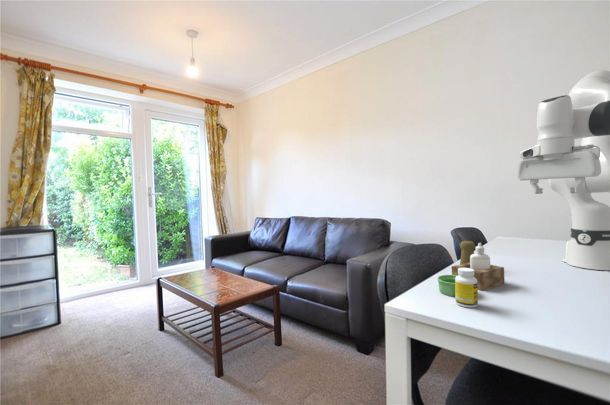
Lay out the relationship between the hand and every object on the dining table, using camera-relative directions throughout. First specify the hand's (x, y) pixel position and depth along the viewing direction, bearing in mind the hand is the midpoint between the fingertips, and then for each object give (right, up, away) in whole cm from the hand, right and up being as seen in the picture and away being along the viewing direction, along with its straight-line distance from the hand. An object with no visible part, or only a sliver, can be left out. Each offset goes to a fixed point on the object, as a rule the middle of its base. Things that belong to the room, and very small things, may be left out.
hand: (555, 193), depth 89 cm
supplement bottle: (-34, -31, -11) cm, 47 cm away
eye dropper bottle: (-20, -28, +6) cm, 35 cm away
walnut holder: (-21, -30, +6) cm, 37 cm away
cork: (-14, -29, +23) cm, 40 cm away
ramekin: (-33, -31, -1) cm, 45 cm away
